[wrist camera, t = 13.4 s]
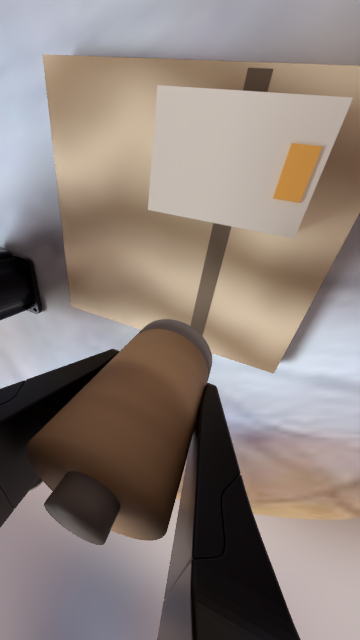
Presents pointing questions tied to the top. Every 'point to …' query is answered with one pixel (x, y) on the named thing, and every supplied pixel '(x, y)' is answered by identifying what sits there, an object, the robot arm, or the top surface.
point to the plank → (180, 232)
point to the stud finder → (241, 155)
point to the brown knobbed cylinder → (126, 437)
